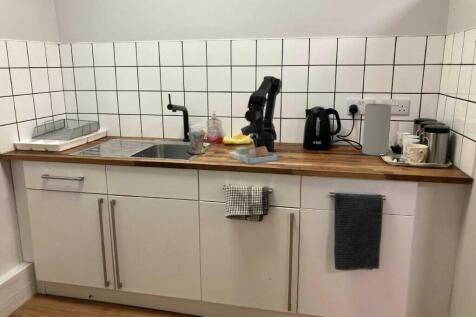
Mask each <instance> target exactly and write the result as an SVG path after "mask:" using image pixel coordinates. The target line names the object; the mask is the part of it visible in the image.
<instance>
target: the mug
mask: <svg viewBox="0 0 476 317" xmlns="http://www.w3.org/2000/svg"><path fill="white" fill-rule="evenodd" d="M205 135H206V132H205V131H189V132H187V136H188V139H189V144H190V146H189V150H188V153H189V154H192V155H200V154H204V153H205V152H206V150H205V147H204V146H205V145H204V141H205V140H204V138H205Z"/></svg>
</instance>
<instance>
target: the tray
mask: <svg viewBox="0 0 476 317" xmlns="http://www.w3.org/2000/svg"><path fill="white" fill-rule="evenodd" d="M268 153H269V156H266V157H257V158H246V157H244V156H241V155H239V160H238V161H240V162H242V163H245V164H247V165H254V164H261V163H269V162H275V161H278V158H279V155H278V154H275V153H272V152H268Z"/></svg>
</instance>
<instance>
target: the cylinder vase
mask: <svg viewBox="0 0 476 317" xmlns="http://www.w3.org/2000/svg"><path fill="white" fill-rule="evenodd" d="M392 106H393V105H392V104H388V103H365V104H364V117H363V130H362V133H363V134H362V146H361V152H362V154H364V155H368V156H376V157H377V156H378V157H379V156H380V154H385V153H387V154H388V150H389V138H390V128H391V117H392V116H391V115H392ZM380 157H381V156H380Z"/></svg>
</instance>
